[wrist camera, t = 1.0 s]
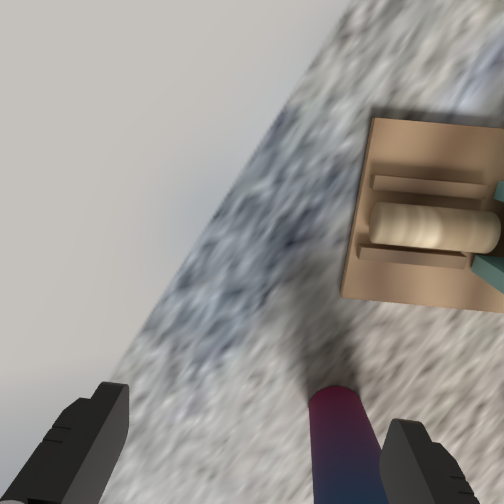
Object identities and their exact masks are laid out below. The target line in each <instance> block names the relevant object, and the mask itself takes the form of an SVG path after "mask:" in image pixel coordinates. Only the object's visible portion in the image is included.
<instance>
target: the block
mask: <svg viewBox="0 0 504 504" xmlns="http://www.w3.org/2000/svg"><path fill="white" fill-rule="evenodd" d="M493 199H496V200H499V201H502V202H504V181H498V185H497V188H496V191H495V194H494V197H493ZM471 271H472V272H474V273H475V274H476V275H478V276H479V277H480V278H482V279H483V280H485V281H486V282H487V283H489V284H490V285H491V286H493V287H494V288H496V289H497V290H498V291H500V292H501V293H502V294H504V257H493V256H482V255H475V258H474V262H473V265H472V268H471Z"/></svg>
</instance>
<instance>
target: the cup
mask: <svg viewBox="0 0 504 504" xmlns="http://www.w3.org/2000/svg"><path fill="white" fill-rule="evenodd" d="M309 418H310V437H311V456H312V475H313V494H314V504H389V502H388V499H387V496H386V492H385V489H384V486H383V483H382V480H381V476H380V469H379V460H380V454H381V451H382V450H381V448H380V445H379V443H378V441H377V438H376V436H375V433H374V431H373V429H372V426H371V424H370V421H369V419H368V417H367V414H366V412H365V409H364V407H363V405H362V402H361V400H360V398H359V396H358V395H357V394H356V393H355V392H354V391H352V390H351V389H348V388H346V387H342V386H331V387H326V388H324V389H321V390H320V391H318V392H317V393H316V394H315V395H314V396H313V397H312V399H311V401H310V403H309Z"/></svg>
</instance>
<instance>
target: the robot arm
mask: <svg viewBox="0 0 504 504" xmlns="http://www.w3.org/2000/svg"><path fill="white" fill-rule="evenodd" d="M128 428H129V386H128V385H127V384H120V383H112V382H102V383H101V384H100V385H99V386H98V388H97V389H96V391H95V393H94V394H93V396H92V397H91V399H87V398H79V399H77V400H76V401H75V402H74V403H72V404H71V405H69V406H68V407H67V408H66V409H64V410H63V411H62V413H61V414H60V415H59V417H58V418H57V420H56V421H55V423H54V424H53V425H52V429H50V430H49V431H48V433H47V434H46V435H45V437H44V438H43V441H42V443H40V444H39V445H38V447H37V448H36V449H35V451H34V452H33V454H32V455H31V457H30V458H29V459H28V461H27V462H26V464H25V465H24V467H23V468H22V469H21V471H20V472H19V474H18V475H17V477H16V478H15V479H14V481H13V482H12V483H11V485H10V486H9V488H8V489H7V491H6V492H5V494H4V495H3V496H2V497H1V499H0V504H98V503H99V501H100V499H101V496H102V494H103V492H104V490H105V487H106V485H107V483H108V480H109V478H110V476H111V474H112V471H113V469H114V467H115V465H116V462H117V460H118V458H119V456H120V453H121V451H122V449H123V446H124V444H125V441H126V438H127V434H128ZM379 469H380V476H381V480H382V483H383V486H384V489H385V492H386V496H387V499H388V502H389V504H480V503H479V501H478V499H477V497H475V496H474V492H473V490H472V488H471V487H470V485H469V483H468V482H467V481H466V480H465V476H464V474H463V472H462V471H461V469H460V467H459V465H458V463H457V462H456V460H455V459H454V458H453V456H452V455H451V454H450V453H449V452H448V451H447V450H446V449H445V448H444V447H443V446H442V445H441V444H440V443H436V442H432V441H431V439H430V437H429V435H428V433H427V431H426V429H425V427H424V425H423V424H422V423H421V422H419V421H412V420H404V419H396V418H394V419H393V420H392V421H391V423H390V426H389V429H388V433H387V436H386V439H385V442H384V445H383V448H382V451H381V454H380V460H379Z"/></svg>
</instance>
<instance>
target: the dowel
mask: <svg viewBox="0 0 504 504" xmlns="http://www.w3.org/2000/svg"><path fill="white" fill-rule="evenodd" d="M500 234H501V224H500V220H499V218H498V216H497V215H496V214H495V213H493V212H487V211H476V210H465V209H454V208H443V207H432V206H421V205H410V204H399V203H388V202H376V203H375V205H374V206H373V209H372V212H371V215H370V220H369V238H370V241H371V242H372V243H378V244H388V245H399V246H410V247H421V248H431V249H442V250H453V251H464V252H474V253H489V252H491V251H492V250H493V249H494V248H495V247H496V245H497V243H498V241H499V238H500Z"/></svg>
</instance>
